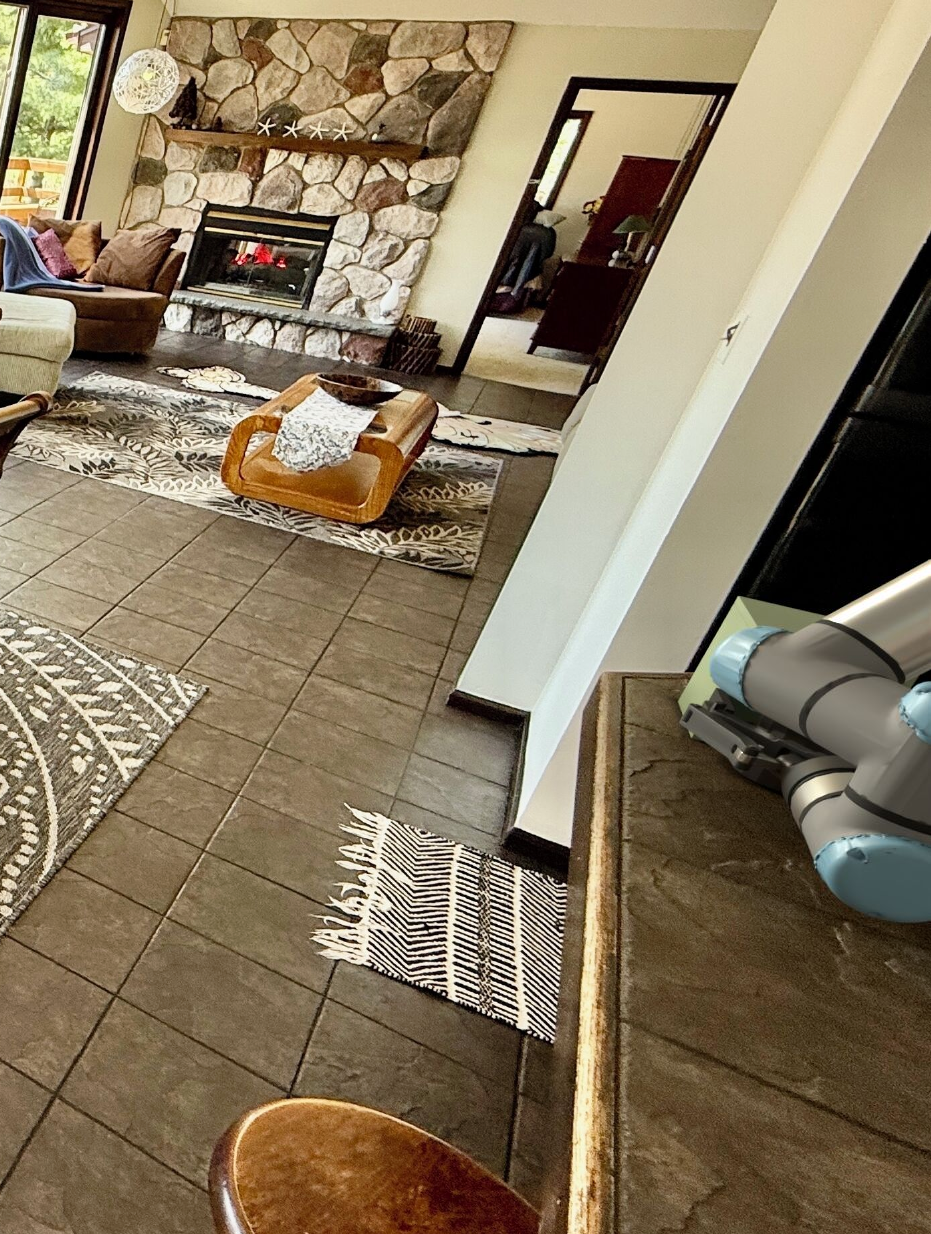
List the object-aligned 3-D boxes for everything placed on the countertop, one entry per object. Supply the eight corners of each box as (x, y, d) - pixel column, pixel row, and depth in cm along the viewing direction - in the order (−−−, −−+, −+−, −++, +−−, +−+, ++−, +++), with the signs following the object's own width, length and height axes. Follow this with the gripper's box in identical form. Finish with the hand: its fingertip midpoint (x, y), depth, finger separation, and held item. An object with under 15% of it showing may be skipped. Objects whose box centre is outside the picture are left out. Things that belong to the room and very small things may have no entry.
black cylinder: (813, 782, 110) (865, 704, 106) (829, 812, 104) (884, 731, 100) (722, 755, 114) (769, 679, 110) (733, 782, 108) (783, 703, 104)
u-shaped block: (819, 743, 118) (892, 631, 112) (844, 785, 109) (925, 666, 103) (676, 703, 125) (738, 595, 119) (689, 740, 116) (756, 626, 110)
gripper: (652, 784, 102) (632, 708, 117) (1028, 903, 88) (949, 799, 103) (689, 721, 99) (663, 652, 114) (1084, 834, 85) (994, 738, 100)
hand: (799, 722), depth 109 cm, fingers open, 13 cm apart
